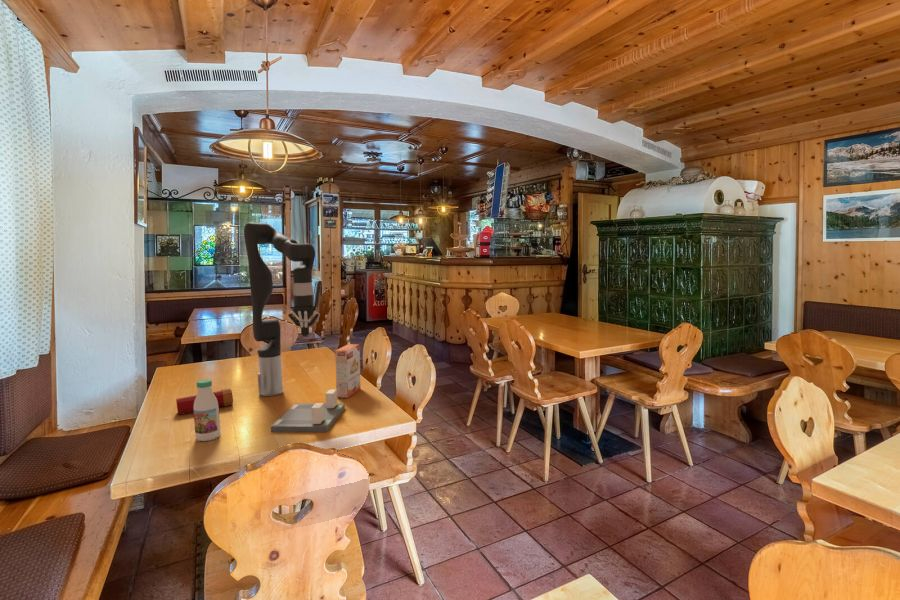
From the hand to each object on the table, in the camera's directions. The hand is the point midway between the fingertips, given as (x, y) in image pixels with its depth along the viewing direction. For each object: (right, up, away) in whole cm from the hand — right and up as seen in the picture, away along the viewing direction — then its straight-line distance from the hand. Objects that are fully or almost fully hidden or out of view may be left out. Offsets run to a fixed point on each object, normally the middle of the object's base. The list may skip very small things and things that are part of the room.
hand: (305, 336), depth 192 cm
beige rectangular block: (+11, -29, -21) cm, 38 cm away
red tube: (-40, -30, 0) cm, 50 cm away
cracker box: (+14, -27, +18) cm, 35 cm away
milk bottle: (-25, -33, -28) cm, 50 cm away
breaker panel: (+6, -31, -13) cm, 33 cm away
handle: (+12, -27, -5) cm, 30 cm away
